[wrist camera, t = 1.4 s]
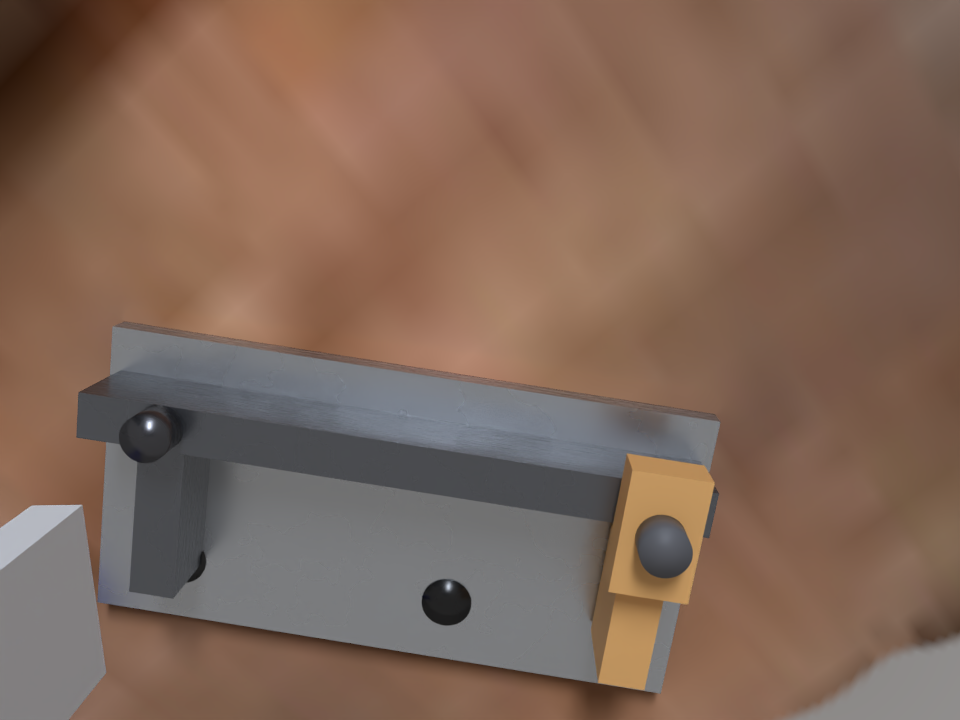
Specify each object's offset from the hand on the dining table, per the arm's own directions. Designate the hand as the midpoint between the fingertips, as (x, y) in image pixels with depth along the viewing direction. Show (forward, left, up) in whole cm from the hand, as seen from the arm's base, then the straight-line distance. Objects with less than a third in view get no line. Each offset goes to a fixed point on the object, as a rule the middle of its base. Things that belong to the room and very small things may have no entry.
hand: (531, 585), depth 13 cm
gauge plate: (-4, -11, -28) cm, 31 cm away
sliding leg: (+7, -10, -27) cm, 29 cm away
